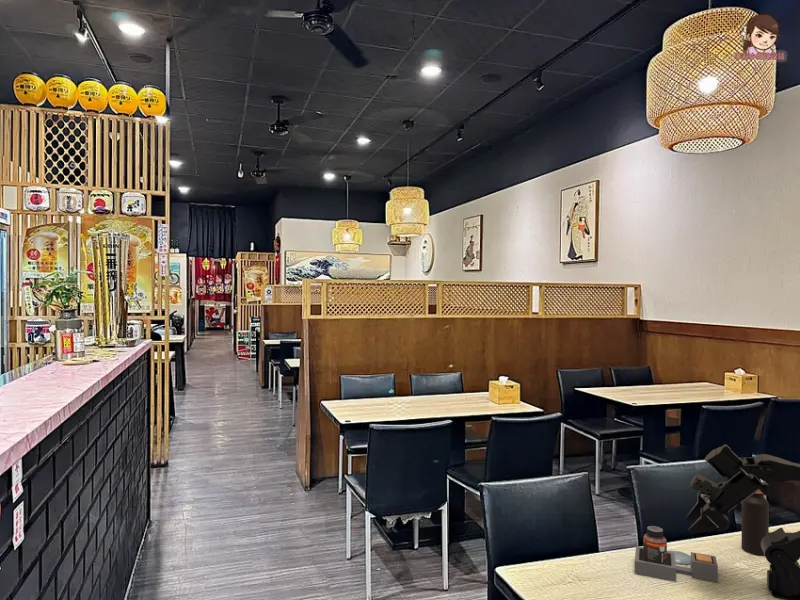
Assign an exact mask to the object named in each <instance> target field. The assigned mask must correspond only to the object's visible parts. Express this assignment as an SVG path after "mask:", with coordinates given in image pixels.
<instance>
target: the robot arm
mask: <svg viewBox="0 0 800 600" xmlns="http://www.w3.org/2000/svg"><path fill="white" fill-rule="evenodd" d="M704 461H705V462H706V463H707V464H708V465H709V466H710V467H711V468H712V469H713V470H715V471H714V472H716V473H717V474H718V475H719V476H720V477H722V478H726V479H728V478H729V479H728V480H727V481H725V482H724V481H720V482H718V483H715V482H714V481H712V479H711V480H710V479H708V478H707V477H706V476H703V475H701V474H699V473H697V472H696V473H694V476H693V477H692V479H691V481H690V482H689V483H690V487H691V488H692V489H693V490H695V491H698V492H697V501H696V503H695V504H694V506H693V507H692V508H691V510H690V511H689V513H687V515H686V516H685V519H686V520H687V521H689V522H690V521H694V520H696V521H694V523H692V524H691V525H690V527H689V528H688V529H687V532H688V533H689V534H690V535H692V534H698V533H706V532H707V533H708V532H714V531H718V532H721V531H722V532H723V533H724V532H725V531H726V530H728V529H729V528H730V520H729V517H728V516H730V514H731V513H730V511H732V510H733V509H735V508H736V507H739V508H742V505H743V504H742V502H743V501H744V500H746V499H747V498H748V497H750V496H751V495H753V494H754V493H755V492H757V491H758V490H760V491H761V492H762V493H763V494H764V497H765V496H766V497H768V496H769V488H770V487H769V483H775V484H776V483H789V482H800V463H796V462H792V461H790V460H787V459H784V458H781V457H777V456H774V455H770V454H766V453H760V454H757V455H756V456H754V457H739V456H738V455H736V453H734V451H733V450H732V449H731V448H730V446H728V445H727V444H725V443H724V444H723V445H722V446H718V447H717V448H713V450H711V451H710V452H709V453H708V454H707V455H706V456H705V458H704ZM761 480H762V481H761ZM766 534H767V535H766V536H765V537H763V538H762V541H761V548H762V550H763V552H764V555H763V556H764V557H765V559H766V561H767V562H768V564H769V569H767V570H766V586H767V589H768V591H769V592H770V594H771V596H772V597H774V598H779V599H784V600H800V562H798V561H799V560H800V530H797V531H795V532H794V531H793V532H786V531H785V530H784V528H783V527H780V528H777V529H775V530H774V531H769V532H766Z"/></svg>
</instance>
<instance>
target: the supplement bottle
mask: <svg viewBox="0 0 800 600" xmlns="http://www.w3.org/2000/svg"><path fill="white" fill-rule="evenodd" d="M646 528H647V529H646V533H645V534H644V535H643V540H642V541H643V542H642V545H643V546H642V547H643V561H646V562H652V563H657V564H663V565H667V551H668V541H667V538H666V537H665V536H664V530H663V528H661V527H659V526H656V525H649V526H647V527H646Z"/></svg>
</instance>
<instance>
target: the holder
mask: <svg viewBox="0 0 800 600" xmlns="http://www.w3.org/2000/svg"><path fill="white" fill-rule="evenodd" d="M696 553H697V554H702V555H706V554H703V553H700V552H699V553H698V552H695V551H694V552H693V551H690V556H691V564H690V567H687V566H683V565H677V564H675V553H673V552H667V565H663V564H657V563H652V562H646V561H643V546H637V545H636V546H635V555H634V574H635V575H638V576H645V577H650V578H654V579H660V580H665V581H670V582H674V583H676V582H677V574H680V575H686V576H691V578H692V579H694V580H701V581H706V582H711V583H716V584H718V580H719V579H718V577H719V574H718V573H719V567H718V561H717V557H716V555H711V554H710V555H709V554H707V555H708V556H711V559H712V563H706V562H700V561H696Z"/></svg>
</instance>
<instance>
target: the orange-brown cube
mask: <svg viewBox="0 0 800 600" xmlns="http://www.w3.org/2000/svg"><path fill="white" fill-rule="evenodd" d="M695 553H696V561H700V562H706V563H712V559H711V556H712V555H711V556H708V555H709V554H705V555H702V554H703V553H700V554H697V553H698V552H695Z"/></svg>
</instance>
